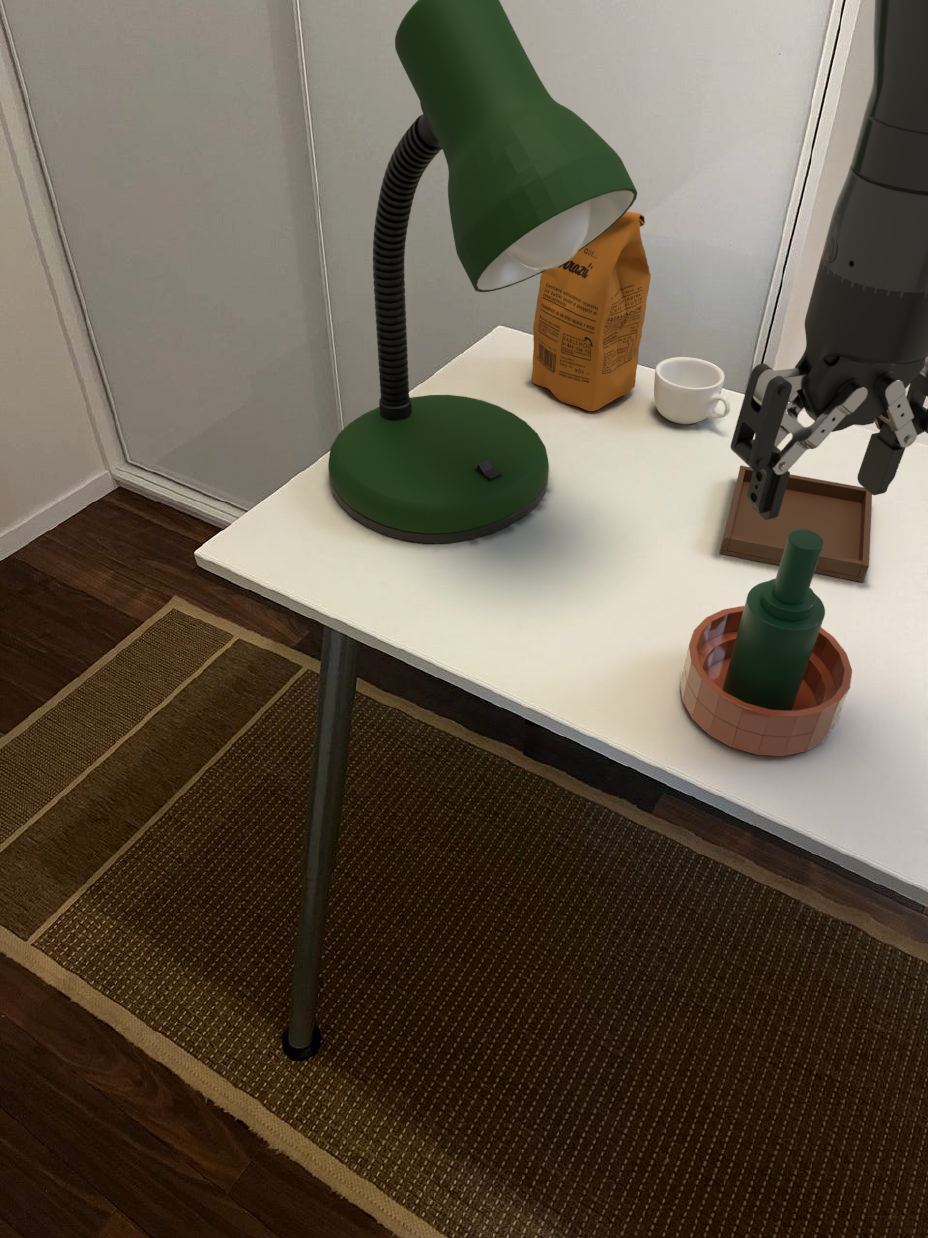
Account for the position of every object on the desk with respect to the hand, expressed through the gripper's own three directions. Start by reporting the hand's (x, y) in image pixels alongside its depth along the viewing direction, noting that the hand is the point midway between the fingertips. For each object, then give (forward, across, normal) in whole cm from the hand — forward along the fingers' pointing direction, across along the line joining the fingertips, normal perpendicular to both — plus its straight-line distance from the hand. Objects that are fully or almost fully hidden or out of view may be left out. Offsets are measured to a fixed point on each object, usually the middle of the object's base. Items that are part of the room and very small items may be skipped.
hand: (817, 500), depth 63 cm
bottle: (+19, 0, 0) cm, 19 cm away
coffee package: (+20, +9, +52) cm, 57 cm away
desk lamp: (+20, -12, +36) cm, 43 cm away
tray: (+20, +17, +19) cm, 32 cm away
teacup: (+20, +18, +41) cm, 49 cm away
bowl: (+20, 0, 0) cm, 20 cm away
